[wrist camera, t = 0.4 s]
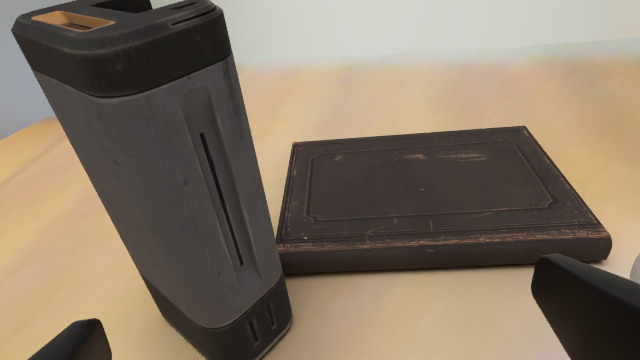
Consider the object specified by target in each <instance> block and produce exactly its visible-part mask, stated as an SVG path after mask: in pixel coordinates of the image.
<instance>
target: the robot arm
mask: <svg viewBox="0 0 640 360" xmlns="http://www.w3.org/2000/svg"><path fill="white" fill-rule="evenodd" d="M531 291H532V295H533V297H534V299H535V301H536V303H537V304H538V306H539V308H540V309H541V311H542V313H543V314H544V316H545V318H546V319H547V321H548V323H549V324H550V326H551V328H552V329H553V331H554V333H555V334H556V336H557V338H558V339H559V341H560V343H561V344H562V346H563V348H564V349H565V351H566V352H567V354H568V356H569V357H570V359H571V360H640V284H639V283H636V282H634V281H631V280H628V279H626V278H623V277H620V276H618V275H615V274H612V273H610V272H607V271H604V270H602V269H599V268H596V267H593V266H591V265H588V264H585V263H583V262H580V261H577V260H575V259H572V258H569V257H567V256H564V255H561V254H549V255H542V256H540V257H539V258H538V259H537V261H536V265H535V270H534V274H533V279H532V283H531ZM28 360H112V353H111V348H110V345H109V342H108V339H107V337H106V334H105V331H104V328H103V325H102V323H101V321H100V320H99V319H96V318H93V319H86V320H79V321H75V322H73V323H72V324H70V325H69V326H68V327H67V328H66V329H64V330H63V331H62V332H61V333H59V334H58V335H57V336H56V337H55V338H53V339H52V340H51V341H50V342H49V343H47V344H46V345H45V346H44V347H42V348H41V349H40V350H39V351H38V352H36V353H35V354H34V355H33V356H32V357H30V358H29V359H28Z"/></svg>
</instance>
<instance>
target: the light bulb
mask: <svg viewBox="0 0 640 360" xmlns="http://www.w3.org/2000/svg"><path fill="white" fill-rule="evenodd" d="M630 280H631V281H634V282H636V283H639V284H640V254H639V255H638V257H637V258H636V260H635V261H634V264H633V267H632V270H631V273H630Z"/></svg>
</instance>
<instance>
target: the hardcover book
mask: <svg viewBox="0 0 640 360" xmlns="http://www.w3.org/2000/svg"><path fill="white" fill-rule="evenodd" d="M276 245H277V249H278V254H279V258H280V262H281V267H282V271H283V274H291V273H315V272H338V271H362V270H385V269H409V268H432V267H456V266H479V265H503V264H526V263H536V261H537V259H538V258H539V257H540V256H542V255H549V254H561V255H564V256H567V257H569V258H572V259H575V260H577V261H596V260H606V259H607V257H608V255H609V254H610V251H611V248H612V239H611V236H610V234H609V233H608V232H607V230H606V229H605V228H604V226H603V225H602V224H601V223H600V221H599V220H598V219H597V218H596V216H595V215H594V214H593V212H592V211H591V210H590V209H589V207H588V206H587V205H586V203H585V202H584V201H583V200H582V198H581V197H580V196H579V194H578V193H577V192H576V191H575V189H574V188H573V187H572V185H571V184H570V183H569V182H568V180H567V179H566V178H565V176H564V175H563V174H562V173H561V171H560V170H559V169H558V167H557V166H556V165H555V164H554V162H553V161H552V160H551V158H550V157H549V156H548V155H547V153H546V152H545V151H544V149H543V148H542V147H541V146H540V144H539V143H538V142H537V140H536V139H535V138H534V137H533V135H532V134H531V133H530V131H529V130H528V129H527V128H526V126H514V127H501V128H487V129H473V130H459V131H445V132H431V133H417V134H403V135H389V136H375V137H361V138H347V139H333V140H320V141H306V142H293V144H292V150H291V156H290V161H289V167H288V173H287V178H286V184H285V190H284V195H283V201H282V207H281V212H280V218H279V224H278V229H277V235H276Z"/></svg>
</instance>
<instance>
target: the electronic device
mask: <svg viewBox="0 0 640 360" xmlns="http://www.w3.org/2000/svg"><path fill="white" fill-rule="evenodd" d="M11 31H12V33H13V35H14V37H15V39H16V41H17V43H18V45H19V46H20V48H21V50H22V52H23V54H24V56H25V58H26V60H27V62H28V63H29V65H30V67H31V69H32V71H33V73H34V75H35V77H36V78H37V81H38V82H39V84H40V86H41V88H42V90H43V92H44V94H45V96H46V97H47V99H48V101H49V103H50V105H51V107H52V109H53V111H54V113H55V115H56V116H57V118H58V120H59V122H60V124H61V126H62V128H63V130H64V131H65V133H66V135H67V137H68V139H69V141H70V143H71V145H72V147H73V148H74V150H75V152H76V154H77V156H78V158H79V160H80V162H81V164H82V165H83V167H84V169H85V171H86V173H87V175H88V177H89V179H90V180H91V182H92V184H93V186H94V188H95V190H96V192H97V194H98V196H99V197H100V199H101V201H102V203H103V205H104V207H105V209H106V211H107V213H108V214H109V216H110V218H111V220H112V222H113V224H114V226H115V228H116V229H117V231H118V233H119V235H120V237H121V239H122V241H123V243H124V245H125V246H126V248H127V250H128V252H129V254H130V256H131V258H132V260H133V261H134V263H135V265H136V267H137V269H138V271H139V273H140V275H141V276H142V278H143V280H144V282H145V284H146V286H147V288H148V290H149V292H150V293H151V295H152V297H153V299H154V301H155V303H156V305H157V307H158V308H159V310H160V312H161V314H162V316H163V317H164V318H165V320H166V321H168V322H169V323H170V324H171V325H172V326H173V327H174V328H175V329H176V330H177V331H178V332H179V333H180V334H181V335H182V336H183V337H184V338H185V339H186V340H187V341H188V342H189V343H190V344H191V345H193V346H194V347H195V348H196V349H197V350H198V351H199V352H200V353H201V354H202V355H203V356H204V357H205V358H206V359H207V360H259V359H260V358H261V357H262V356H263V355H264V354H265V353H266V352H267V351H268V350H269V349H270V348H271V347H272V346H273V345H274V344H275V343H276V342H277V341H278V340H279V339H280V338H281V337H282V336H283V335H284V333H285V332H286V331H287V330H288V328H289V327H290V325H291V323H292V317H293V316H292V310H291V306H290V302H289V297H288V293H287V288H286V284H285V280H284V275H283V271H282V267H281V262H280V258H279V254H278V249H277V245H276V240H275V236H274V232H273V227H272V223H271V219H270V214H269V210H268V206H267V201H266V197H265V192H264V188H263V184H262V179H261V175H260V171H259V166H258V162H257V157H256V153H255V149H254V144H253V140H252V136H251V131H250V127H249V123H248V118H247V114H246V109H245V105H244V101H243V96H242V92H241V88H240V83H239V79H238V75H237V70H236V66H235V61H234V57H233V53H232V51H231V45H230V40H229V36H228V31H227V27H226V22H225V18H224V14H223V10H222V9H221V8H219V7H218V6H216V5H215V4H213V3H212V2H211V1H209V0H184V1H181V2H177V3H174V4H170V5H167V6H163V7H160V8H156V9H152V6H151V3H150V0H76V1H72V2H68V3H64V4H60V5H55V6H51V7H47V8H43V9H39V10H35V11H31V12H29V13H25V14H22V15H20V16H19V17H17V19H16V21H15V23H14V25H13V27H12V29H11Z"/></svg>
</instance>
